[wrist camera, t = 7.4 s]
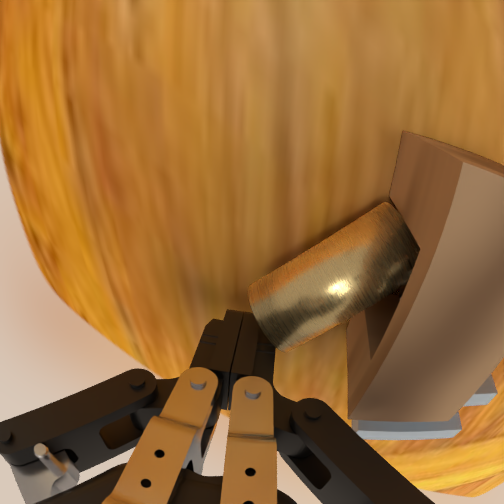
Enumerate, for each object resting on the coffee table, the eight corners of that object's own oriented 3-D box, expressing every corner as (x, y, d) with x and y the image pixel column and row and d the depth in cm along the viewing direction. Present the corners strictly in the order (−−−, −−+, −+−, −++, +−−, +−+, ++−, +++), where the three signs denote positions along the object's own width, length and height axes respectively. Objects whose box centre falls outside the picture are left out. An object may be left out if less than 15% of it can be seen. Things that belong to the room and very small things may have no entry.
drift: (388, 226, 12) (378, 186, 10) (425, 281, 11) (427, 252, 8) (273, 296, 14) (239, 274, 11) (298, 355, 12) (265, 347, 10)
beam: (501, 164, 9) (577, 213, 5) (428, 340, 14) (448, 420, 10) (402, 130, 10) (463, 162, 5) (346, 330, 15) (347, 419, 10)
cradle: (485, 359, 14) (497, 392, 12) (447, 407, 17) (452, 437, 15) (381, 352, 15) (386, 392, 13) (351, 403, 18) (351, 438, 16)
